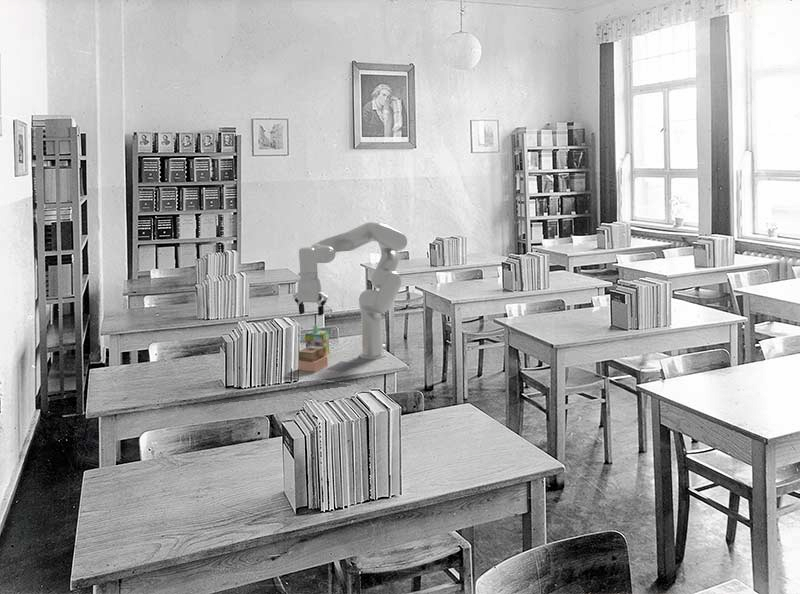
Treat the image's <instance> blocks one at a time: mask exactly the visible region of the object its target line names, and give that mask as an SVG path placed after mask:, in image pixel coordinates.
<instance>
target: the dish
mask: <svg viewBox="0 0 800 594" xmlns="http://www.w3.org/2000/svg"><path fill="white" fill-rule="evenodd" d="M328 363H329V361H328V355H327V356H323V357H321V358H319V359H317V360H315V361H313V362H307V361H299V370H298V371H303V372H313V373H317V372H319V371H321V370H323V369H324V368H326V367H328V366H329V364H328Z"/></svg>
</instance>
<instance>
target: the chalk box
mask: <svg viewBox="0 0 800 594" xmlns="http://www.w3.org/2000/svg"><path fill="white" fill-rule="evenodd" d="M329 336H330V335H329V330H322V329H318V326H317V324H314V325H313V330H309V331H308V332H306V333H305V334H304V337H305V338H304V339H305V348H307V347H309V346H319V347H325V356H327V357H328V355H329V354H330V337H329Z"/></svg>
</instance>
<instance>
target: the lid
mask: <svg viewBox="0 0 800 594" xmlns="http://www.w3.org/2000/svg"><path fill="white" fill-rule="evenodd" d="M323 356H325V347H319V346H309V347H307V348H306V347H305V348H303V349H301V350H299V361H307V362H313V361H315V360H317V359H319V358H321V357H323Z"/></svg>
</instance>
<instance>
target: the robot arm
mask: <svg viewBox="0 0 800 594" xmlns="http://www.w3.org/2000/svg"><path fill="white" fill-rule="evenodd" d="M371 242H376V243H378V245H379V248H380V252H381V253H380V259H379V261H378V263H377V265H376V267H375V270H374V272H373V274H372V276H371V279H370V281H371V285H372V286H373V287H374V288H375V289H378V290H374V289H365V290H364V291H362V292H361V293H360V295H359V297H358V304H359V309H360V317H361V341H362V342H361V343H362V349H361V350H362V352H360V353H359V354H358V355H359V357H360V358H361V359H365V360H378V359H379V360H380V359H382V358H385V357H387V352H385V351H384V350H383V349H385V348H386V344H384V343H383V317H382V314H385V313H387V312H388V311H389V310H390V308H391V307H392V306H393V303H394V302H395V299H396V297H397V295H398V293H399V291H400V290H401V285H402V278H401V276H400V274H399V273H398V272H397V271H396V269H397V267H398V264H399V261H400V260H399V259H400V258H399V251H403V250H404V249H405V248H406V247H407V246H408V238H407V236H406V235H405V234H404V233H403V232H401V231H399V230H397V229H394V228H392V227H390V226H389V225H387V224H384V223H381V222H375V221H373V222H372V221H371V222H370V221H369V222H366V223H364V224H361V225H359V226H356V227H354V228H353V229H350V230H348V231H346V232H343V233H340V234H337V235H336V234H335V235H334V236H331V237H327V238H325V239H322V240H319V241H317V242H315V243H314V244H312V245H311V246H308V247H301V248H299V249H298V259H299V261H298V263H299V272H298V273H297V275H298V277H300V278H298V283H297V292H296V293H294V294H292V298H293V300H294V302H295V303H296V304H297V306H298V313H299V315H303V314H304V313H305V304H304V303H312V304H313V303H317V305H318V307H317V314H318V315H317V316H322V315H324V306H325V304H326V303H327V301H328V299H329V296H328V295H326V294H325V293H324V292H322V291H323V290H322V286H321V285H322V284H321V281H320V278H319V275H318V272H319V271H318V264H329V263H331V262H333V261H334V260H335V258H336V253H339V252H341V253H342V252H350V251H354V250H356V249H358V248H360V247H362V246H365V245H367V244H368V243H371Z"/></svg>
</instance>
